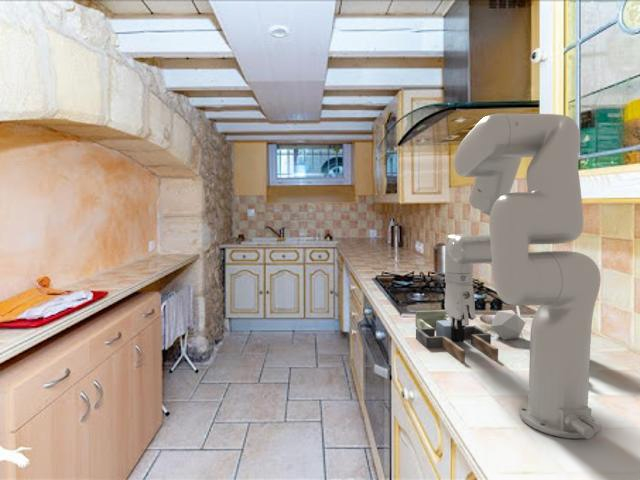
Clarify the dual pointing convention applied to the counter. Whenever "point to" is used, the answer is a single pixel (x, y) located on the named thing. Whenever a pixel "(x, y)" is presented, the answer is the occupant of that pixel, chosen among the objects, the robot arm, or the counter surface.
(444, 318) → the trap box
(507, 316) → the grey faceted solid
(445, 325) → the block
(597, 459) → the counter surface
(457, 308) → the robot arm
